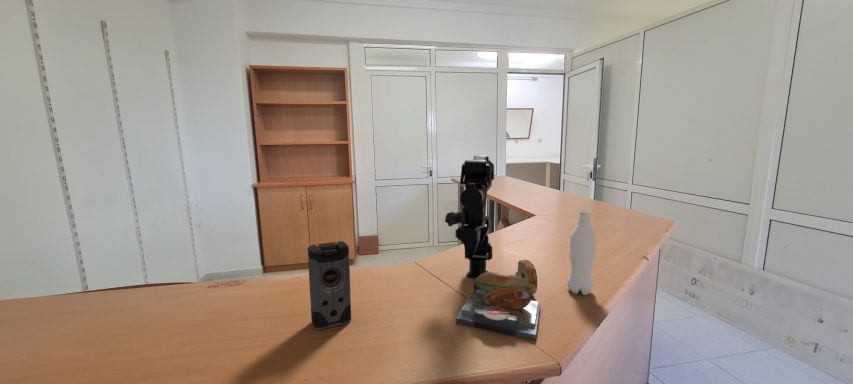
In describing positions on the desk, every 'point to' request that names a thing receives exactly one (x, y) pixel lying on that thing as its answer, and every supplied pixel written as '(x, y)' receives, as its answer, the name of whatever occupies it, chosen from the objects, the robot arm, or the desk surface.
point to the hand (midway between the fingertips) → (473, 254)
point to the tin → (502, 290)
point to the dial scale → (500, 318)
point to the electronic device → (329, 284)
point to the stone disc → (528, 274)
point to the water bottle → (582, 254)
